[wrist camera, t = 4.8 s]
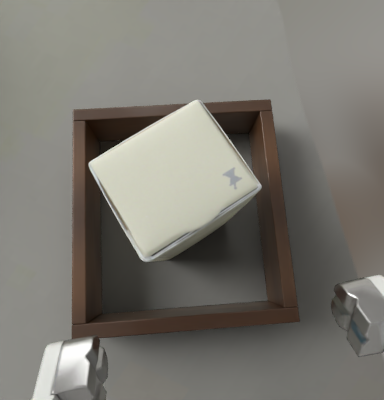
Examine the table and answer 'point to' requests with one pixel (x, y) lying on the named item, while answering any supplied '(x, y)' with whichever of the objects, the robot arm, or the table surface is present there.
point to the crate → (91, 225)
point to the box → (174, 182)
